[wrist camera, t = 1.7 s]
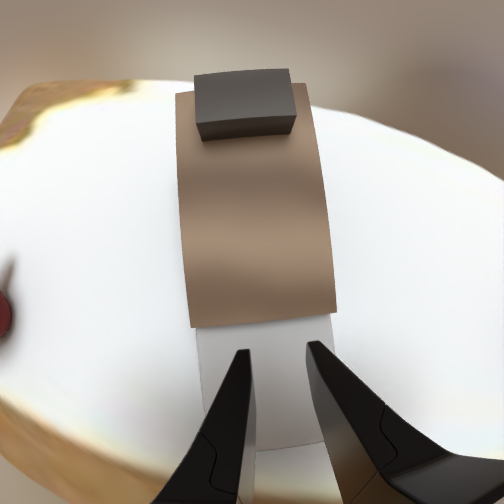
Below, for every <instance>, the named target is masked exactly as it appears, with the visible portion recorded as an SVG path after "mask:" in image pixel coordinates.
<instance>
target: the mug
mask: <svg viewBox="0 0 504 504" xmlns="http://www.w3.org/2000/svg"><path fill="white" fill-rule="evenodd" d="M10 323H11V309H10V306H9V304H8V302H7V300H6V299H5V297H4V296H3V294H2V293H1V292H0V337H1V336H3V335H4V334H5V333H6V332H7V331H8V329H9V327H10Z"/></svg>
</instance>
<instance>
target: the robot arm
mask: <svg viewBox="0 0 504 504" xmlns="http://www.w3.org/2000/svg"><path fill="white" fill-rule="evenodd" d="M305 361H306V368H307V374H308V379H309V385H310V391H311V396H312V401H313V406H314V409H315V412H316V416H317V419H318V422H319V425H320V428H321V432H322V435H323V438H324V441H325V444H326V448H327V451H328V454H329V457H330V461H331V464H332V467H333V470H334V474H335V477H336V480H337V483H338V487H339V490H340V493H341V497H342V500H343V503H344V504H504V460H497V459H487V458H478V457H470V456H463V455H458V454H454V453H452V452H449V451H447V450H446V449H444V448H442V447H441V446H439V445H438V444H437V443H435V442H434V441H432V440H431V439H429V438H428V437H427V436H425V435H424V434H422V433H421V432H419V431H418V430H417V429H415V428H414V427H413V426H411V425H410V424H409V423H407V422H406V421H405V420H404V419H402V418H401V417H400V416H399V415H398V414H397V413H396V412H395V411H393V410H392V409H391V408H390V407H389V406H388V405H387V404H386V405H385V402H384V401H383V400H382V399H381V398H379V397H378V396H377V395H376V394H375V393H374V392H373V391H372V390H371V389H370V388H369V387H368V386H367V385H366V384H365V383H364V382H363V381H362V380H360V379H359V378H358V377H357V376H356V375H355V374H354V373H353V372H352V371H351V370H350V369H349V368H348V367H347V366H346V365H345V364H344V363H343V362H342V361H341V360H340V359H338V358H337V357H336V356H335V355H334V354H333V353H332V352H331V351H330V350H329V349H328V348H327V347H326V346H325V345H324V344H323V343H322V342H321V341H319V340H316V341H309V342H307V344H306V358H305ZM256 419H257V410H256V398H255V389H254V379H253V369H252V360H251V351H250V349H239V350H237V351H236V353H235V355H234V358H233V360H232V362H231V364H230V366H229V368H228V370H227V373H226V375H225V377H224V379H223V381H222V383H221V385H220V387H219V389H218V392H217V394H216V396H215V398H214V400H213V402H212V404H211V406H210V408H209V410H208V412H207V414H206V417H205V419H204V421H203V423H202V425H201V427H200V429H199V431H198V433H197V435H196V437H195V439H194V441H193V443H192V444H191V446H190V448H189V450H188V452H187V454H186V455H185V457H184V458H183V460H182V461H181V463H180V464H179V466H178V467H177V469H176V470H175V472H174V473H173V474H172V476H171V477H170V479H169V480H168V481H167V483H166V484H165V485H164V487H163V488H162V490H161V491H160V492H159V494H158V495H157V496H156V497H155V499H154V500H153V501H152V502H151V503H150V504H253V492H254V469H255V444H256Z"/></svg>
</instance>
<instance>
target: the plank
mask: <svg viewBox="0 0 504 504" xmlns="http://www.w3.org/2000/svg"><path fill="white" fill-rule="evenodd" d="M175 106H176V155H177V179H178V197H179V213H180V227H181V240H182V251H183V262H184V273H185V282H186V292H187V300H188V309H189V317H190V325H191V328H197V327H211V326H223V325H235V324H245V323H255V322H265V321H274V320H283V319H291V318H299V317H307V316H314V315H322V314H329V313H336V312H337V306H336V292H335V280H334V268H333V258H332V248H331V238H330V230H329V221H328V213H327V205H326V198H325V190H324V183H323V177H322V170H321V163H320V157H319V151H318V145H317V139H316V134H315V128H314V123H313V117H312V112H311V107H310V102H309V97H308V92H307V87H306V84H305V83H291V80H290V74H289V69H261V70H244V71H231V72H221V73H212V74H203V75H195V76H194V91H189V92H182V93H176V94H175Z"/></svg>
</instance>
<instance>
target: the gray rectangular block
mask: <svg viewBox="0 0 504 504" xmlns="http://www.w3.org/2000/svg"><path fill="white" fill-rule="evenodd" d="M196 335H197V347H198V358H199V368H200V377H201V386H202V395H203V404H204V412H205V417H206V414H207V412H208V410H209V408H210V406H211V404H212V402H213V400H214V398H215V396H216V394H217V392H218V389H219V387H220V385H221V383H222V381H223V379H224V377H225V375H226V373H227V370H228V368H229V366H230V364H231V362H232V360H233V358H234V355H235V353H236V351H237V350H239V349H250V351H251V360H252V369H253V379H254V389H255V398H256V410H257V419H256V444H255V451H263V450H273V449H281V448H288V447H295V446H302V445H308V444H314V443H319V442H325V441H324V438H323V435H322V432H321V428H320V425H319V422H318V419H317V416H316V412H315V409H314V406H313V401H312V396H311V391H310V385H309V379H308V374H307V368H306V361H305V358H306V344H307V342H309V341H316V340H319V341H321V342H322V343H323V344H324V345H325V346H326V347H327V348H328V349H329V350H330V351H331V352H332V353H333V354H334V355H335V350H334V341H333V333H332V325H331V317H330V313H329V314H322V315H314V316H307V317H299V318H291V319H283V320H274V321H265V322H255V323H245V324H235V325H223V326H211V327H197V328H196Z"/></svg>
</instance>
